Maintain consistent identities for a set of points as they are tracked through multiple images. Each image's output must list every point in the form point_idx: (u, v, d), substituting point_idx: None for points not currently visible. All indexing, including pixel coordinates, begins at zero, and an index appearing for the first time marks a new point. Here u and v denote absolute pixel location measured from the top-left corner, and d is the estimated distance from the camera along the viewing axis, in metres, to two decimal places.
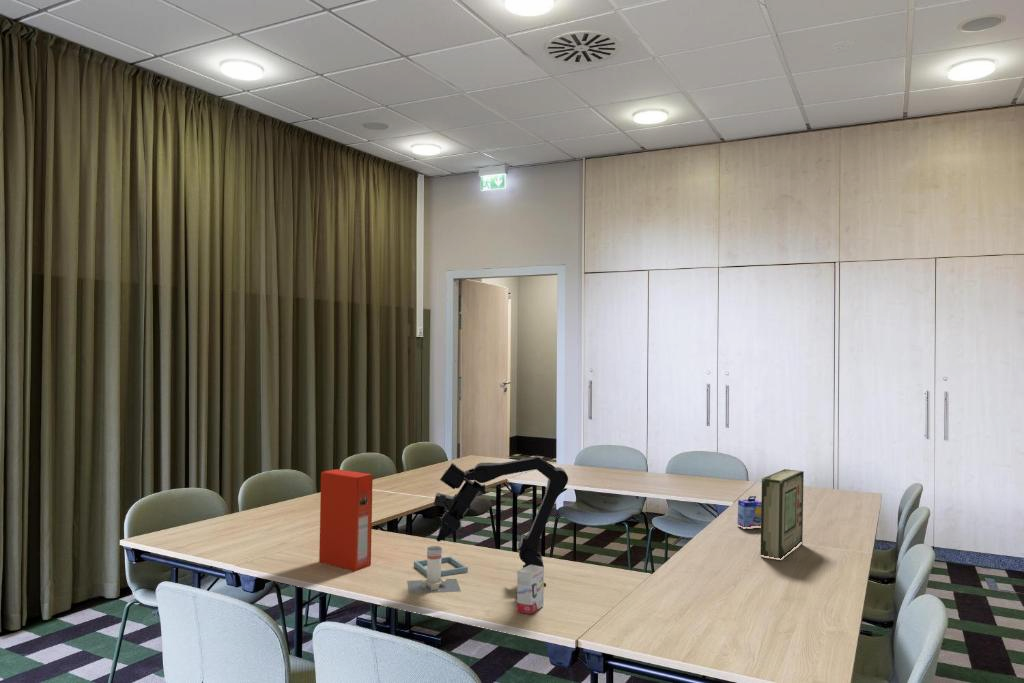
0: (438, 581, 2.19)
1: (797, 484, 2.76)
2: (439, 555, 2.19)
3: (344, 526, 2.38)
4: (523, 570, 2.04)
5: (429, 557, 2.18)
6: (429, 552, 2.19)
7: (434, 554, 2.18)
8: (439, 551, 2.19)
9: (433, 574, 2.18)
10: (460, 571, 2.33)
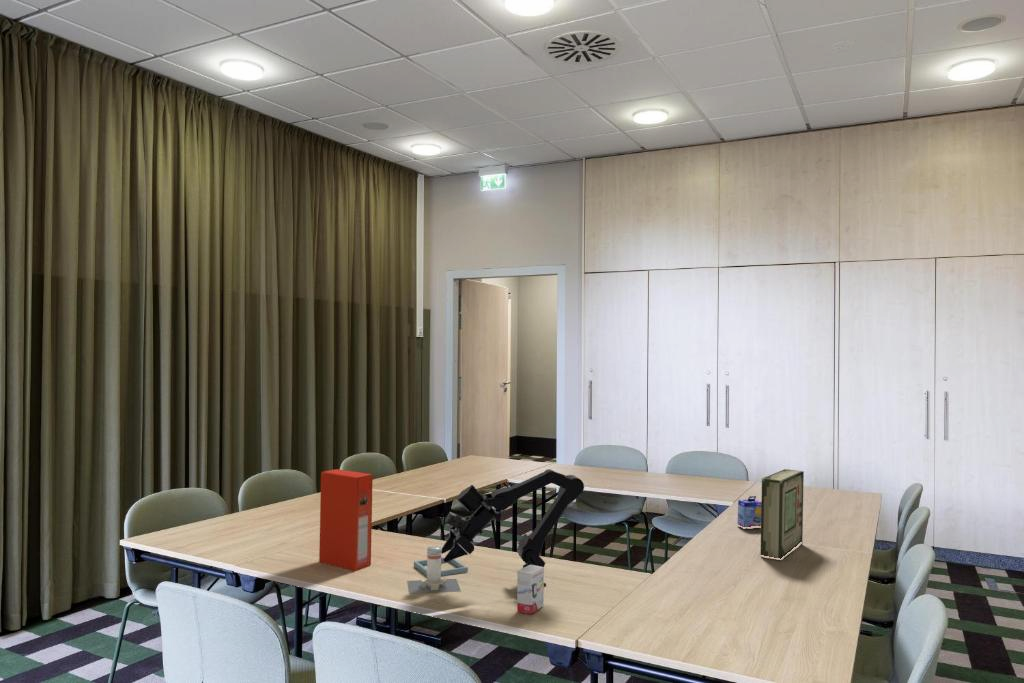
0: (438, 581, 2.19)
1: (797, 484, 2.76)
2: (439, 555, 2.19)
3: (344, 526, 2.38)
4: (523, 570, 2.04)
5: (429, 557, 2.18)
6: (429, 552, 2.19)
7: (434, 554, 2.18)
8: (439, 551, 2.19)
9: (433, 574, 2.18)
10: (460, 571, 2.33)
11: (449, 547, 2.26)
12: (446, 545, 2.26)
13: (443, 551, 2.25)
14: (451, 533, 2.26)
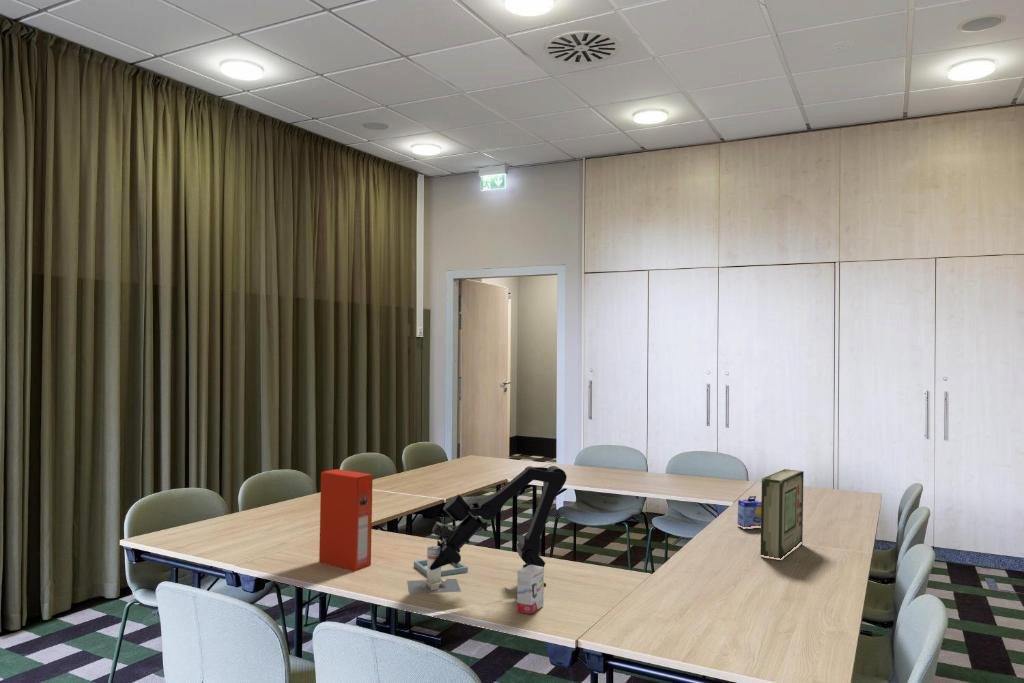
0: (438, 581, 2.19)
1: (797, 484, 2.76)
2: None
3: (344, 526, 2.38)
4: (523, 570, 2.04)
5: (429, 557, 2.18)
6: (429, 552, 2.19)
7: (434, 554, 2.18)
8: (439, 551, 2.19)
9: (433, 574, 2.18)
10: (460, 571, 2.33)
11: None
12: None
13: None
14: (439, 545, 2.23)
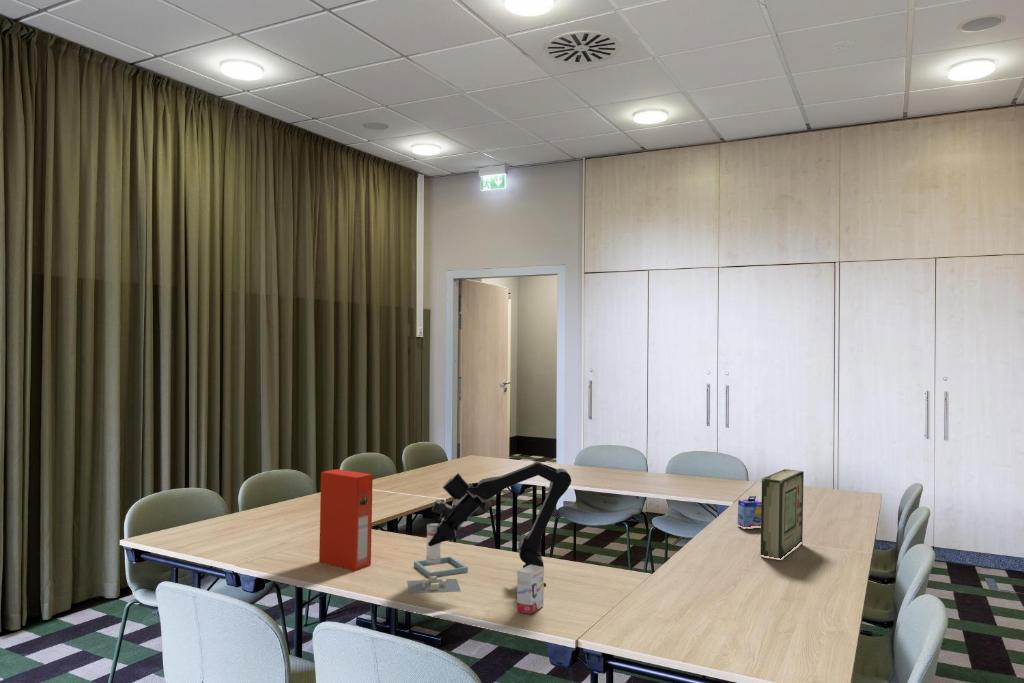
0: (437, 557, 2.24)
1: (797, 484, 2.76)
2: None
3: (344, 526, 2.38)
4: (523, 570, 2.04)
5: (428, 533, 2.24)
6: (428, 529, 2.24)
7: (432, 531, 2.23)
8: None
9: (431, 550, 2.23)
10: (460, 571, 2.33)
11: None
12: None
13: None
14: (440, 522, 2.28)
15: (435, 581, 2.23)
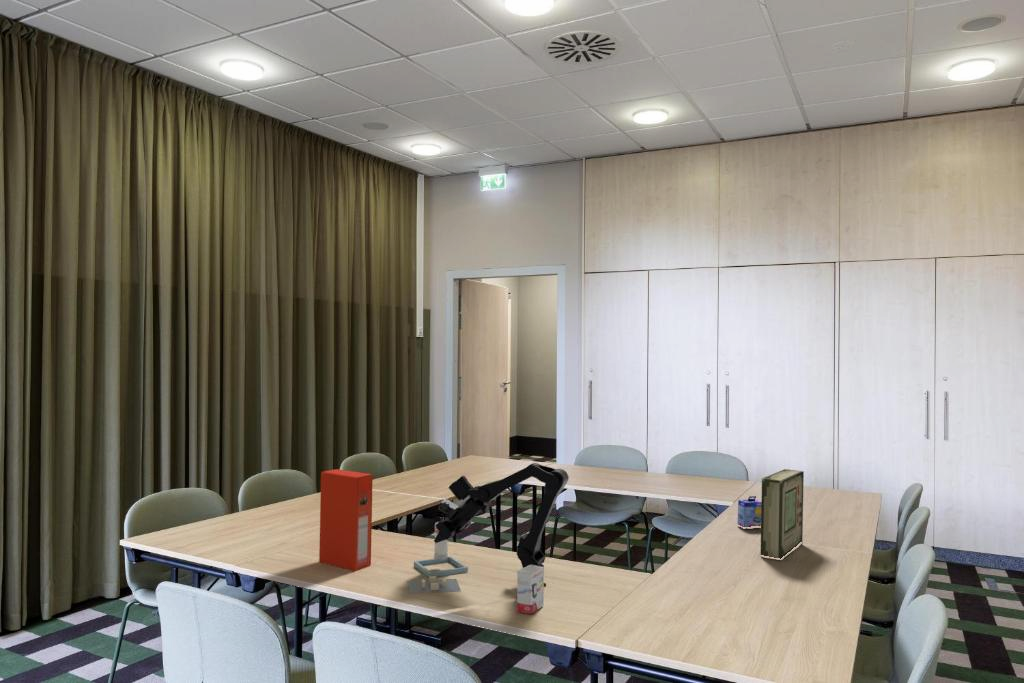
0: (442, 554, 2.36)
1: (797, 484, 2.76)
2: None
3: (344, 526, 2.38)
4: (523, 570, 2.04)
5: (435, 531, 2.37)
6: (435, 526, 2.37)
7: None
8: None
9: (437, 547, 2.36)
10: (460, 571, 2.33)
11: None
12: None
13: None
14: None
15: (435, 581, 2.23)
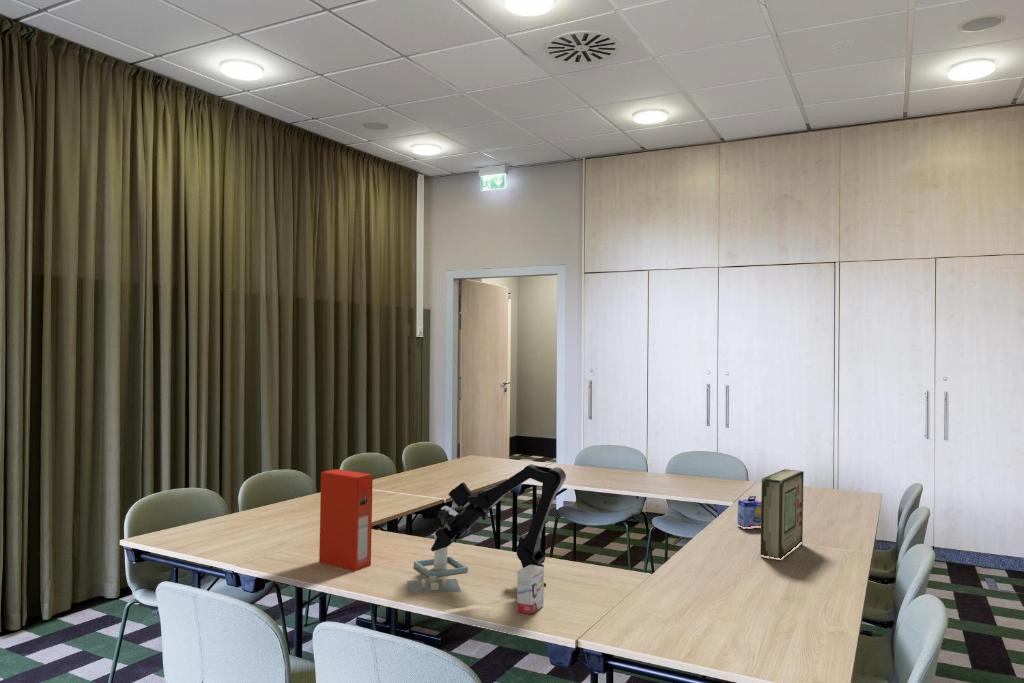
0: (442, 565, 2.35)
1: (797, 484, 2.76)
2: None
3: (344, 526, 2.38)
4: (523, 570, 2.04)
5: None
6: None
7: None
8: None
9: (437, 557, 2.36)
10: (460, 571, 2.33)
11: None
12: None
13: None
14: None
15: (435, 581, 2.23)
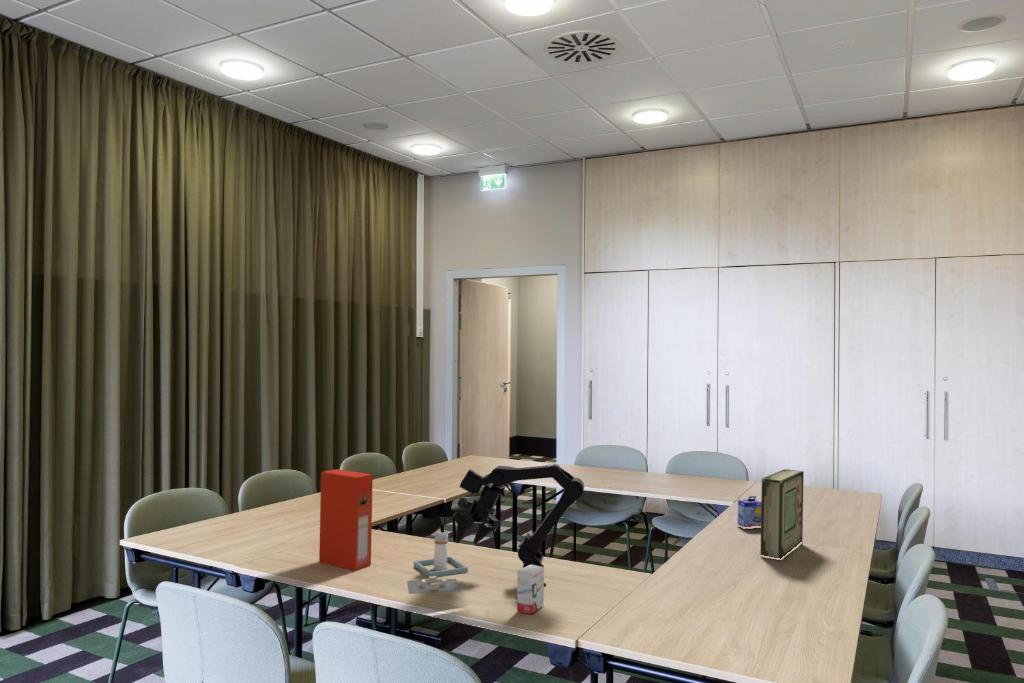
0: (442, 565, 2.35)
1: (797, 484, 2.76)
2: (443, 541, 2.36)
3: (344, 526, 2.38)
4: (523, 570, 2.04)
5: None
6: None
7: (438, 539, 2.36)
8: (442, 537, 2.36)
9: (437, 558, 2.36)
10: (460, 571, 2.33)
11: (479, 536, 2.33)
12: (477, 535, 2.34)
13: (475, 541, 2.33)
14: (479, 523, 2.35)
15: (435, 581, 2.23)
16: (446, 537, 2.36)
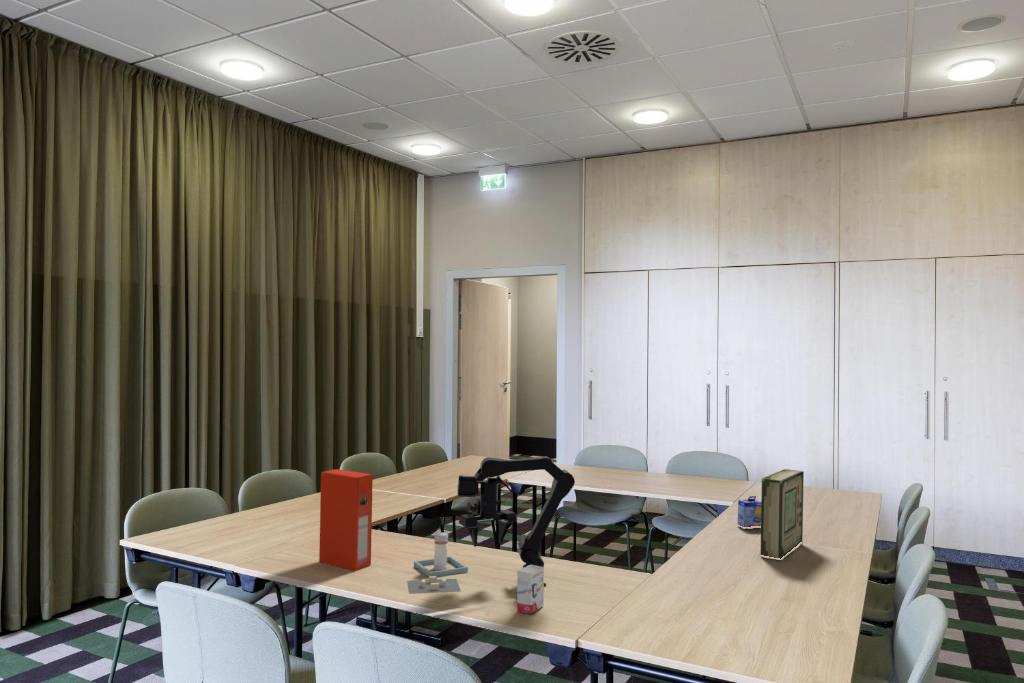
0: (442, 565, 2.35)
1: (797, 484, 2.76)
2: (443, 541, 2.36)
3: (344, 526, 2.38)
4: (523, 570, 2.04)
5: None
6: None
7: (438, 539, 2.36)
8: (442, 537, 2.36)
9: (437, 558, 2.36)
10: (460, 571, 2.33)
11: (501, 534, 2.27)
12: (499, 534, 2.28)
13: (499, 541, 2.27)
14: (498, 521, 2.29)
15: (435, 581, 2.23)
16: (446, 537, 2.36)
